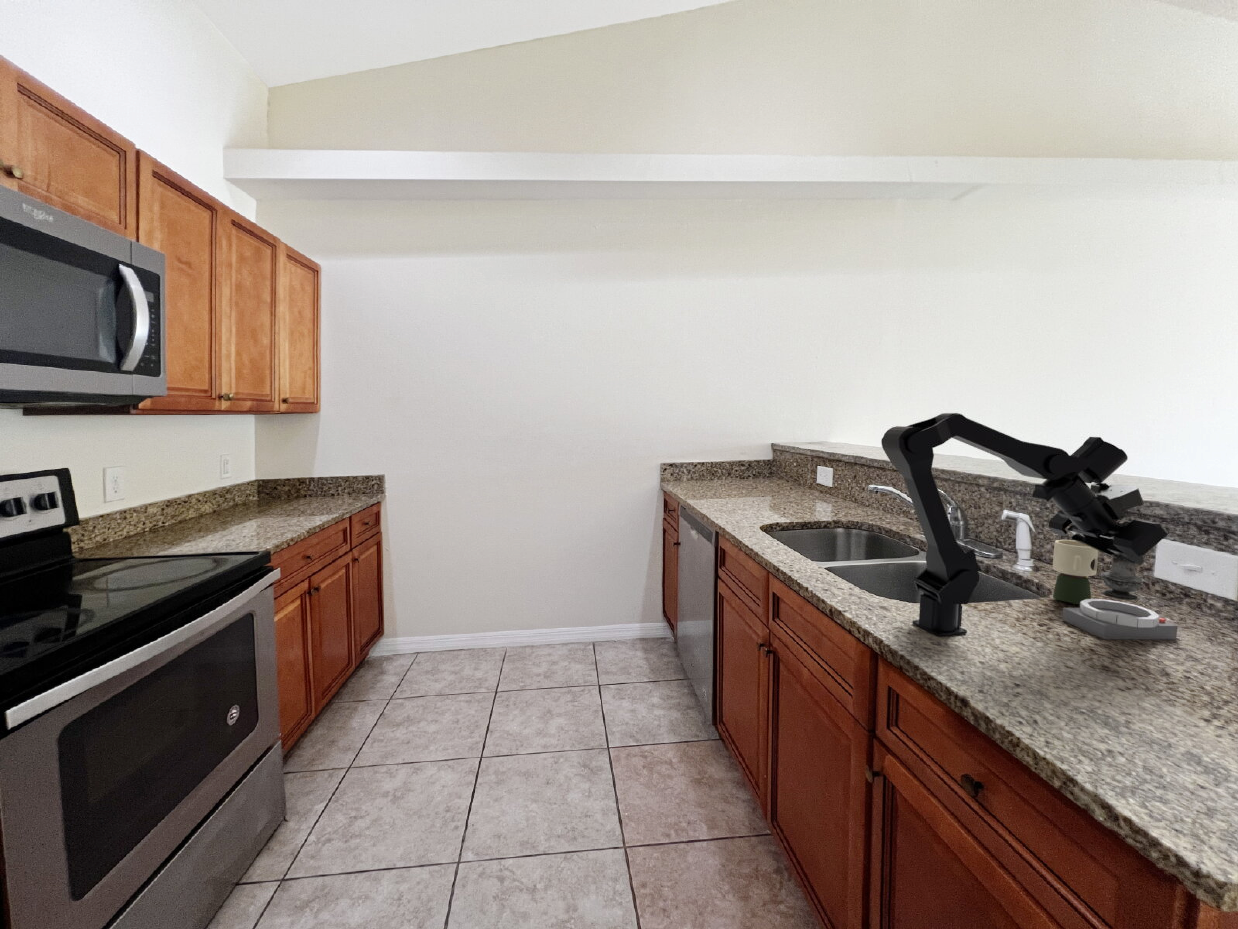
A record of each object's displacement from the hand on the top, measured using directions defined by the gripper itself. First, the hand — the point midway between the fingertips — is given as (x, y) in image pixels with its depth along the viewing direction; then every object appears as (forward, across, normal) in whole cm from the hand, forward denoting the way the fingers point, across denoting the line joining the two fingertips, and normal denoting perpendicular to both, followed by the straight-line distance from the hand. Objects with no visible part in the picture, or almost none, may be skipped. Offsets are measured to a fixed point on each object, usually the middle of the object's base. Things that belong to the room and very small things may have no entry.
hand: (1131, 560), depth 99 cm
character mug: (+11, +15, +8) cm, 20 cm away
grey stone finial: (+4, 0, +6) cm, 7 cm away
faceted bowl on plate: (+9, 0, +10) cm, 13 cm away
